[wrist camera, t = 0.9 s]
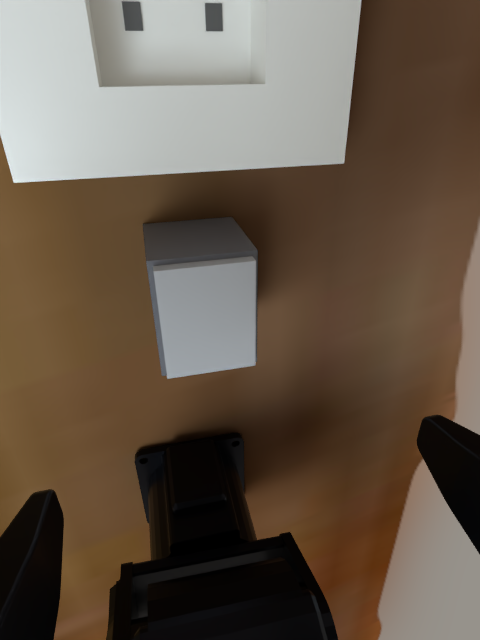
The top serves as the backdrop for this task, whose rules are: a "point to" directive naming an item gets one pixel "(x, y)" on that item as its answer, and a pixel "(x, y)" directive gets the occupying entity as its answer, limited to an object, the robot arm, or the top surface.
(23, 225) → the top surface
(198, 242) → the plug
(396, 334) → the top surface
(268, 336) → the top surface
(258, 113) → the socket plate
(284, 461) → the top surface
